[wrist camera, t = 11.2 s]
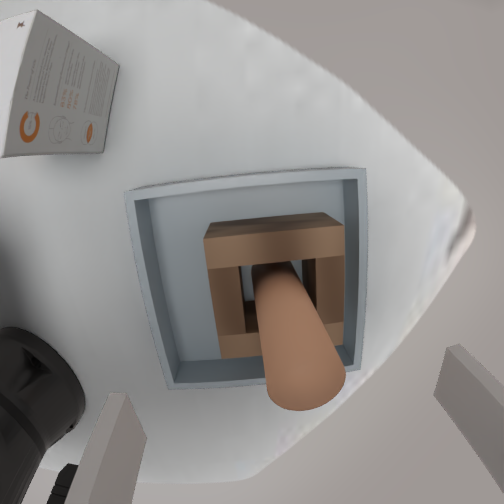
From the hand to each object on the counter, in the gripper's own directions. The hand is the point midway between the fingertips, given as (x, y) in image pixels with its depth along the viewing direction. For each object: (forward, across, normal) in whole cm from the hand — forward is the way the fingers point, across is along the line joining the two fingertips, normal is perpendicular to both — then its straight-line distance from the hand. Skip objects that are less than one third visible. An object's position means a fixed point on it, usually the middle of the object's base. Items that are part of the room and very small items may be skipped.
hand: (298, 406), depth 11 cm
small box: (+17, -14, +16) cm, 27 cm away
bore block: (+16, +1, 0) cm, 16 cm away
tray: (+16, -1, 0) cm, 16 cm away
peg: (+16, +1, 0) cm, 16 cm away
